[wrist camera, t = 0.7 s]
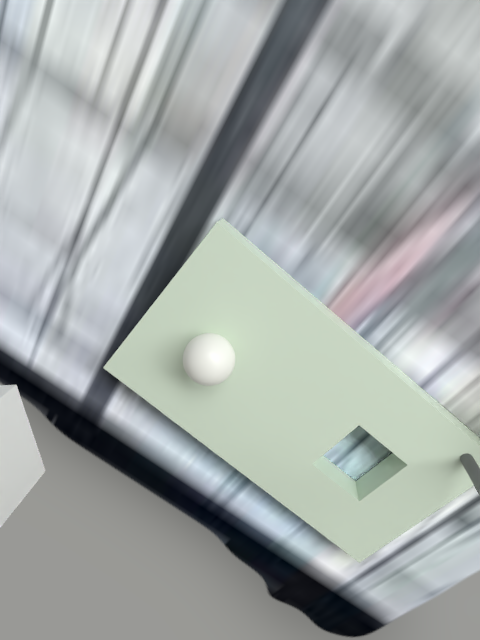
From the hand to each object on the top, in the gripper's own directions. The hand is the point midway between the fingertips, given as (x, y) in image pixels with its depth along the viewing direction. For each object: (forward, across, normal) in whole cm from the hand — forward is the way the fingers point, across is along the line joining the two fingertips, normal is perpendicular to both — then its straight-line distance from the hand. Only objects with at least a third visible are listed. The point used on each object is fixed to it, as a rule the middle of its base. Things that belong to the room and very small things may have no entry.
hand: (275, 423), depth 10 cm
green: (+23, +1, -13) cm, 27 cm away
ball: (+19, -6, -8) cm, 21 cm away
